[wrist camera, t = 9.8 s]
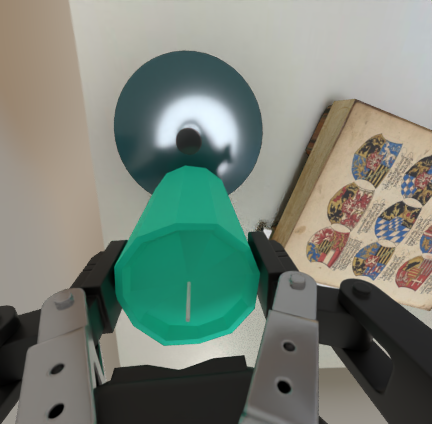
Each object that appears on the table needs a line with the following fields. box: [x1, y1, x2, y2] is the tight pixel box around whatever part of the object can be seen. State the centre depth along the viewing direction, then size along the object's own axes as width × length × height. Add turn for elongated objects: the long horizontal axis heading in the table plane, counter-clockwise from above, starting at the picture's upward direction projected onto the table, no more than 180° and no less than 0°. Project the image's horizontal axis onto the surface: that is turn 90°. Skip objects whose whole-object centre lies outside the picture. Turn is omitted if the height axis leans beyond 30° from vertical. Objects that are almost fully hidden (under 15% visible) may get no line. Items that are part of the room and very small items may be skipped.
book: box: [261, 99, 432, 311], centre depth 34 cm, size 25×6×28 cm
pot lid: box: [114, 51, 263, 195], centre depth 21 cm, size 13×13×5 cm
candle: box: [114, 165, 260, 346], centre depth 14 cm, size 6×6×12 cm
